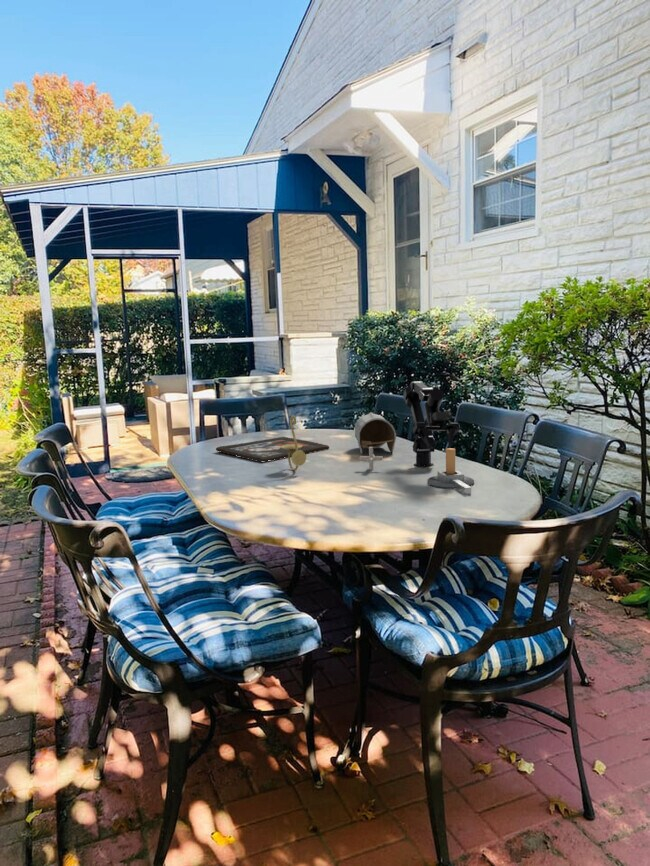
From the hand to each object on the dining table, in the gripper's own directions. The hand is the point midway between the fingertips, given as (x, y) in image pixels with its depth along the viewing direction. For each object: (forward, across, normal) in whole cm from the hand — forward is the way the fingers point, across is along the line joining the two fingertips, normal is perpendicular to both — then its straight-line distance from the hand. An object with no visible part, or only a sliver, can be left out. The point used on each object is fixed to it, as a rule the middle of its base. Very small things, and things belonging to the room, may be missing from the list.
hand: (440, 446), depth 260 cm
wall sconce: (-9, -53, +38) cm, 66 cm away
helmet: (-31, -7, +58) cm, 66 cm away
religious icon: (-40, -56, +76) cm, 102 cm away
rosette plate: (+18, +1, -2) cm, 19 cm away
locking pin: (+15, +2, +1) cm, 15 cm away
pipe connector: (-4, -21, +28) cm, 35 cm away
